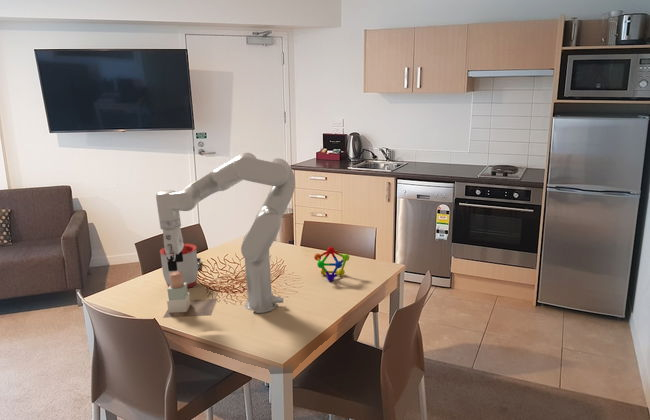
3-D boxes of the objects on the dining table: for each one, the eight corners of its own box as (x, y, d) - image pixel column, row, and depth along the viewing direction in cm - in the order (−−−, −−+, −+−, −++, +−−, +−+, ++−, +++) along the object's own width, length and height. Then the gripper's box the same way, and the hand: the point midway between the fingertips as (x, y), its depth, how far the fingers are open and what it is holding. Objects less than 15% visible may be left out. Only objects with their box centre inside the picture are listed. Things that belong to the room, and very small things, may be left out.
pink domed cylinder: (185, 283, 206) (183, 271, 204) (182, 288, 201) (181, 275, 199) (172, 283, 205) (171, 271, 204) (169, 288, 201) (167, 276, 199)
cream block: (190, 304, 209) (189, 292, 208) (186, 311, 202) (185, 299, 201) (172, 304, 209) (171, 293, 208) (168, 312, 202) (166, 300, 201)
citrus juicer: (195, 275, 243) (191, 233, 238) (203, 287, 228) (199, 244, 223) (160, 281, 237) (155, 239, 232) (167, 295, 221) (161, 250, 216)
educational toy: (318, 287, 227) (313, 254, 223) (317, 276, 239) (312, 245, 236) (353, 282, 227) (349, 249, 223) (350, 271, 240) (346, 240, 236)
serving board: (217, 301, 213) (217, 298, 213) (211, 318, 199) (210, 315, 199) (173, 303, 213) (172, 300, 213) (163, 320, 198) (163, 317, 198)
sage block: (187, 293, 207) (186, 282, 206) (184, 299, 201) (183, 288, 200) (172, 293, 207) (171, 283, 206) (168, 300, 201) (167, 289, 200)
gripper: (174, 229, 189) (180, 273, 193) (185, 216, 205) (190, 257, 210) (153, 230, 188) (160, 275, 193) (166, 217, 205) (171, 259, 209)
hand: (176, 266), depth 201 cm, fingers open, 9 cm apart
